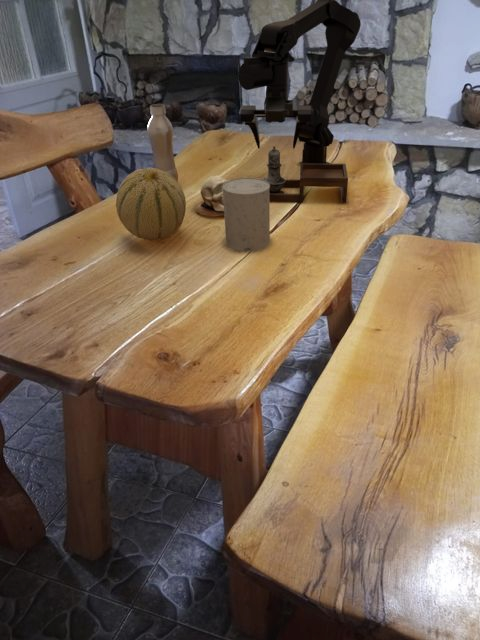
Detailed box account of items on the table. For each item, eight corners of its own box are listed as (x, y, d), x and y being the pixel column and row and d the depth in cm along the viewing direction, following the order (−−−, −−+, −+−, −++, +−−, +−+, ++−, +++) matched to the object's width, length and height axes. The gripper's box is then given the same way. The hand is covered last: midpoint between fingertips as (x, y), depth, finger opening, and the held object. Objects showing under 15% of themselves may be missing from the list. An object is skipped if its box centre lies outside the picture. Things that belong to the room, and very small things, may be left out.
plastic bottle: (181, 182, 148) (173, 102, 136) (175, 191, 142) (167, 109, 130) (158, 181, 148) (148, 102, 136) (151, 190, 143) (140, 108, 131)
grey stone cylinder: (254, 255, 112) (253, 197, 105) (216, 245, 116) (212, 188, 109) (278, 238, 118) (278, 182, 111) (241, 229, 123) (239, 174, 115)
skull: (258, 204, 131) (235, 179, 123) (233, 239, 132) (208, 217, 124) (229, 189, 139) (204, 164, 131) (205, 222, 139) (179, 200, 131)
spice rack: (343, 187, 143) (345, 163, 140) (346, 203, 134) (348, 178, 131) (256, 186, 145) (255, 162, 141) (252, 201, 136) (252, 177, 132)
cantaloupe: (149, 218, 128) (140, 153, 119) (202, 230, 122) (196, 162, 113) (106, 243, 117) (93, 173, 109) (162, 257, 112) (152, 185, 103)
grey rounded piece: (261, 190, 142) (261, 142, 135) (284, 189, 142) (284, 142, 135) (263, 198, 137) (263, 149, 130) (287, 197, 138) (287, 149, 131)
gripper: (235, 90, 130) (238, 157, 139) (314, 90, 129) (311, 157, 138) (240, 81, 139) (242, 144, 148) (314, 81, 137) (311, 145, 147)
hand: (276, 148), depth 145 cm, fingers open, 9 cm apart
